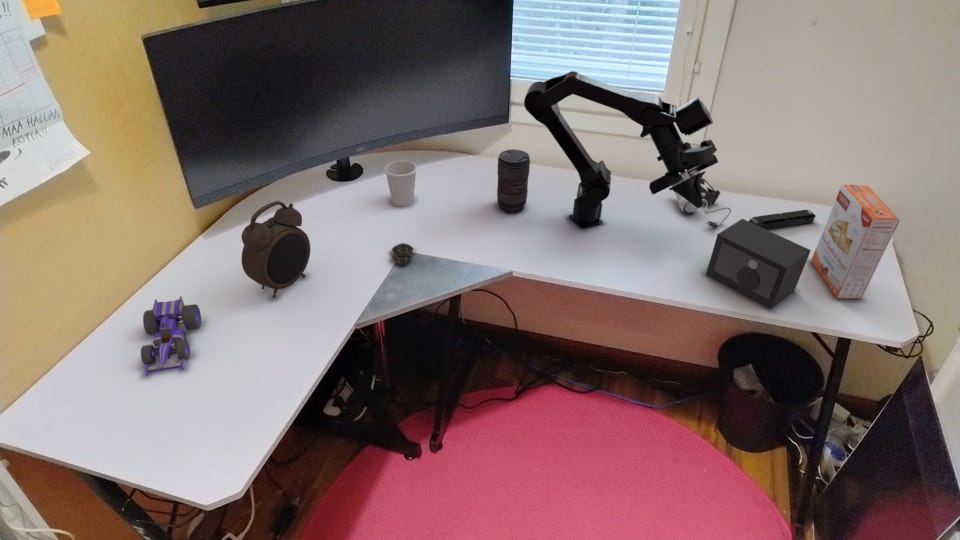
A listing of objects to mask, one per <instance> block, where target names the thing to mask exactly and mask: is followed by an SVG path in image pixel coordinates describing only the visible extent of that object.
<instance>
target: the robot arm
mask: <svg viewBox="0 0 960 540" xmlns="http://www.w3.org/2000/svg"><path fill="white" fill-rule="evenodd" d="M572 95H574V96H577V97H580V98H582V99H585V100H587V101H591V102H594V103H596V104H599V105H602V106H605V107H608V108H609V109H613V110H616V111H618V112H621V113H622V114H624V115H625V116H626V117H627V118H629V119H630V120H631V121H633V122H634V123H636V124H638V125H639V126H642V130H641V133H640V135H639V137H640V138H642V139H643V138H646V137H650V138H651V141H652V142H653V144H654V146H655V149H656V150H657V152H658V154H659V156H656V159H657V161H658V162H661V161H662V163H663V164H664V167H665V169H666V171H667V172H665V173H664V175H662V176H660V177H657V179H654V180H652V181H651V182H649V185H648V186H649V187H648V189H649V191H650V193H651V195H652V196H653V195H656V194H657V193H660V192H663V191H664V190H666V189H668V190H669V191H674V192H676V193H678V194H679V195H681V196H682V197H684V198H685V199H686V200H688V201H689V202H690V203H691V204H693V205H694V206H695V207H697V209H700V208H702V207H703V206H704V202H703V200H702V199H703V198H702V194H701V179H703V176H704V175H705V174H706V169H707V168H710V167H712V166H715V165H716V164H718V163H719V160H718V158H717V156H716V154H715V153H716V152H717V151H718V148H717V147H716V145H715V144H714V142H713V140H712V139H704V140H703V141H701V142H700V145H697V146H694V147H693V146H692V145H691V144H690V143H689V142H688V141H686V142H684V141H683V139H682V136H681V135H684V136H685V137H686V136H691V135H693V134H695V133H697V132H700V131H701V130H703V129H705V128H707V127H709V126H710V125H713V124H714V121H713V118H712V116H711V114H710V112H709V110H708V108H707V106H706V104H704V103H703V101H702V100H701V99H700V97H699V96H696V97H694V98H692V99H691V100H689V101H688V102H687V103H684V104H683V105H681V106H679V107H677V105H676V104H673V103H670V102H667V101H664V100H662V99H661V97H660V95H658V94H655V93H650V92H645V91H630V90H626V89H622V88H619V87H616V86H614V85H611V84H608V83H605V82H602V81H600V80H597V79H594V78H592V77H589V76H587V75H584V74H581V73H579V72H577V71H574V70H572V71H569V72H566V73H565V74H562V75H559V76H554V77H551V78H550V79H547V80H544V81H535V82H533V83H532V84H531V85H530V86H529V87H528V90H527V92H526V94H525V97H524V100H523V101H524V102H523V106H524V108H525V110H526V112H528V114H530V115H531V116H532V117H533V119H535V121H537V122H539V123H540V124H542V125H544V126H545V127H546V128H547V130H548V131H549V132H550V134H551V136H552V137H553V139H554V140H555V141H556V143H557V144H558V146H559V147H560V148H561V150H562V152H563V153H564V154H565V156H566V158H567V159H568V160H569V161H570V163H571V164H572V165H573V168H575V170H576V171H577V173H578V176H579V179H580V182H579V183H578V187H577V192H576V198H574V201H573V209H572V214H568V218H569V219H570V220H571V221H572V222H573V223H575V225H577V226H578V227H579V228H580V229H581V230H584V229H587V228H591V227H595V226H598V225H602V224H603V223H604V221H603V220H602V219H601V216H602V210H603V203H602V202H603V201H605V200H606V199H607V198H609V195H610V194H611V193H610V192H611V181H612V178H611V177H612V176H611V175H612V170H610V169H608V168H607V166H606V164H605V162H604V160H603V159H601V160H600V161H599V162H597V161H596V160H594V159H592V156H591V155H590V154H589V153H588V151H587V150H586V148H585V147H584V146H583V144H582V142H581V141H580V140H579V138H578V137H577V135H576V134H575V132H574V131H573V129H572V127H571V126H570V124H569V123H568V122H567V121H566V119H565V117H564V115H563V114H562V113H561V110H560V107H559V104H558V103H560V102H561V101H563V100H565V99H566V98H568V97H570V96H572ZM676 127H677V128H676ZM678 130H679V131H678ZM679 132H680V133H681V135H680V133H679ZM703 170H704V171H703ZM672 185H673V187H672ZM674 192H673V193H674Z"/></svg>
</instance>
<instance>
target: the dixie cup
mask: <svg viewBox="0 0 960 540" xmlns="http://www.w3.org/2000/svg"><path fill="white" fill-rule="evenodd" d="M417 169H418V167H417V165H416V164H415V163H414V162H412V161H410V160H401V159H400V160H394V161H391V162H389V163H387V164H386V165H385V166H384V173H385V175H386V180H387V185H388V188H389V193H390V197H391V202H392V204H393V205H394V206H396V207H408V206H411V205H412V204H413V203H414V200H415V188H416V174H417Z"/></svg>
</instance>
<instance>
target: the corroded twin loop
mask: <svg viewBox="0 0 960 540" xmlns="http://www.w3.org/2000/svg"><path fill="white" fill-rule="evenodd" d="M391 251H392V252H393V254H392V255H391V259H392V260H393V261H394V263H396V264H398V265H405V264H407V263H409V262H410V261H411V260H412V258H413V255H412V252H413V251H414V247H413V246H412V245H410V244H408V243H404V242H402V243H398V244H396V245H394V246H393V247H392V248H391Z"/></svg>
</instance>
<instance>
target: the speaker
mask: <svg viewBox="0 0 960 540" xmlns="http://www.w3.org/2000/svg"><path fill="white" fill-rule="evenodd" d="M810 253H811V249H809V248H807V247H805V246H803V245H801V244H799V243H796V242H794V241H792V240H791V239H788V238H785V237H784V236H781V235H780V234H777V233H775V232H772V231H771V230H766V229H764V228H762V227H759V226H757V225H755V224H753V223H751V222H749V220H746V219H744V218H741V219H740V220H738V221H736V222H735V223H733V224H731V225H730V226H729V227H726V228H725V229H723V230H722V231H720V232H719V233H717V234H716V238H715V242H714V246H713V249H712V252H711V255H710V259H709V262H708V266H707V269H706V272H705V274H706V275H707V276H709V277H710V278H713V279H714V280H716V281H717V282H720V283H722V284H723V285H726V286H727V287H729V288H731V289H733V290H735V291H736V292H738V293H740V294H742V295H744V296H746V297H748V298H749V299H751V300H752V301H755V302H757V303H759V304H760V305H762V306H764V307H766V308H768V309H769V310H772V309H774V308H775V307H776V306H778V305H779V304H780V303H781V302H783V300H785V299H786V298H787V297H788V296H790V295H792V293H794V292H795V290H796V288H797V286H798V283H799V281H800V279H801V276H802V273H803V271H804V268H805V267H806V264H807V261H808V258H809V256H810Z"/></svg>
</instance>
